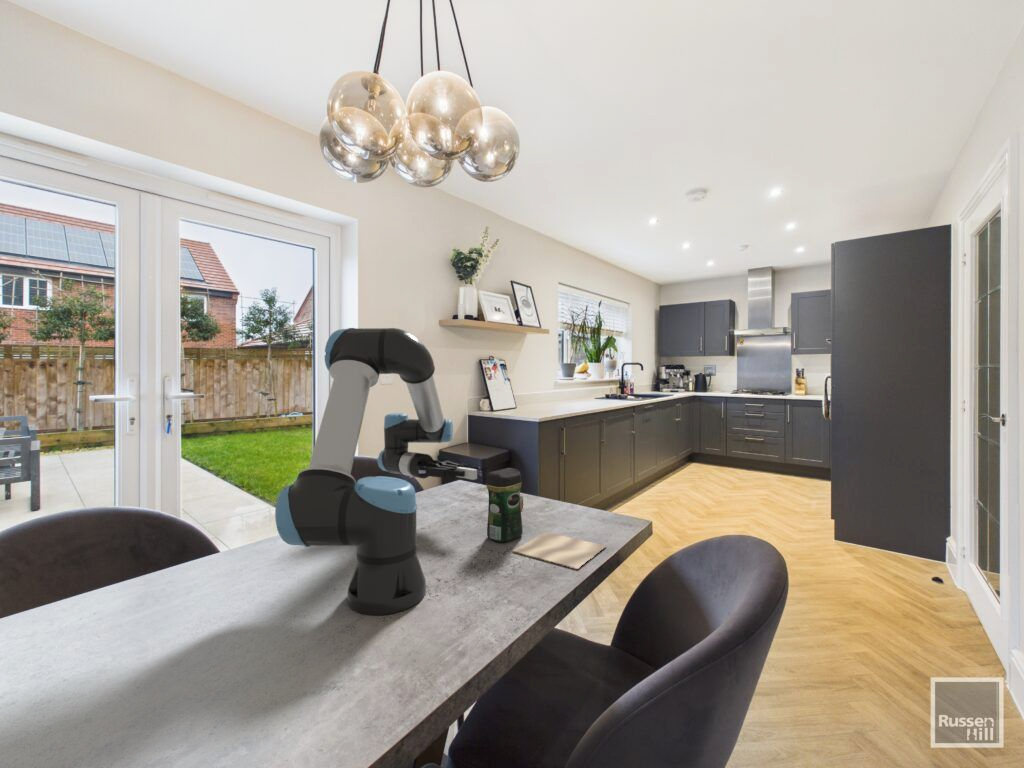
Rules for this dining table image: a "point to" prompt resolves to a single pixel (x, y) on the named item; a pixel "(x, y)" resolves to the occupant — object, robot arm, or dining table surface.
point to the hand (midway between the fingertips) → (475, 474)
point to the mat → (560, 550)
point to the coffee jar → (504, 505)
